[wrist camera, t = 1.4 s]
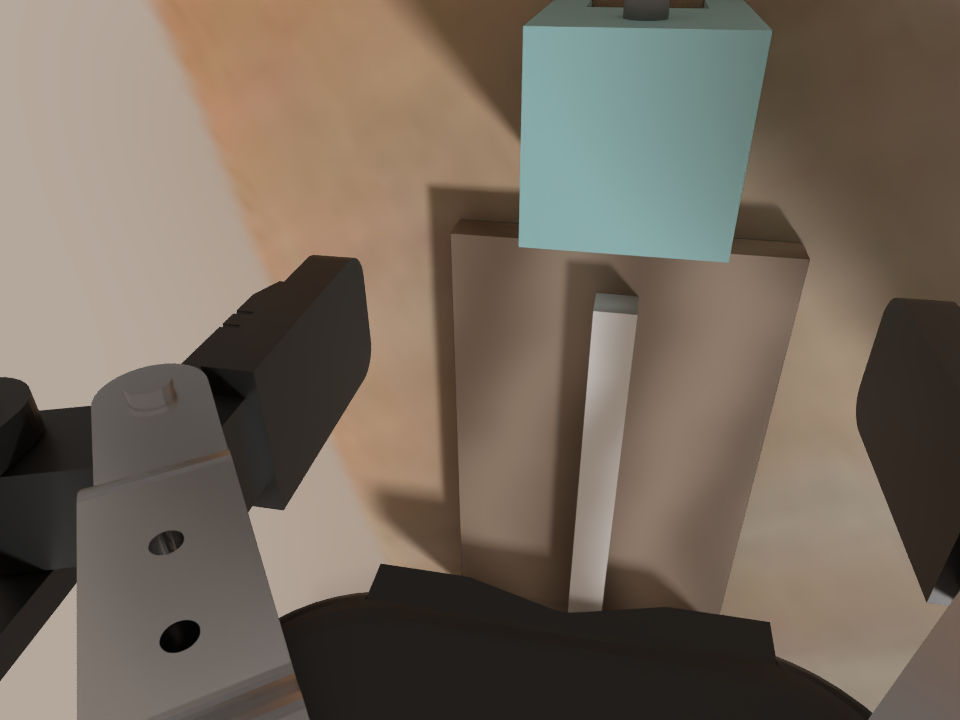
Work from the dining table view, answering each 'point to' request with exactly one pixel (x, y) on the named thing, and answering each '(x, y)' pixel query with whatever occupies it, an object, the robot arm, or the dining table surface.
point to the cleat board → (665, 418)
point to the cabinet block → (638, 126)
